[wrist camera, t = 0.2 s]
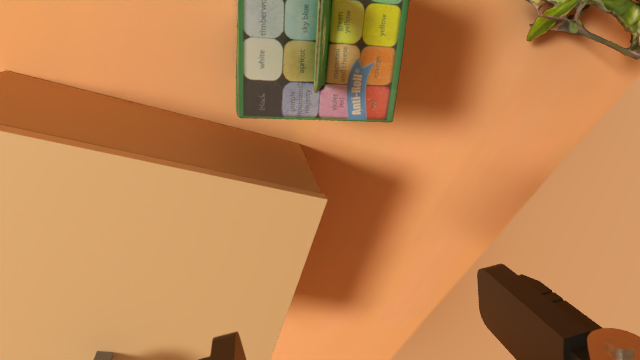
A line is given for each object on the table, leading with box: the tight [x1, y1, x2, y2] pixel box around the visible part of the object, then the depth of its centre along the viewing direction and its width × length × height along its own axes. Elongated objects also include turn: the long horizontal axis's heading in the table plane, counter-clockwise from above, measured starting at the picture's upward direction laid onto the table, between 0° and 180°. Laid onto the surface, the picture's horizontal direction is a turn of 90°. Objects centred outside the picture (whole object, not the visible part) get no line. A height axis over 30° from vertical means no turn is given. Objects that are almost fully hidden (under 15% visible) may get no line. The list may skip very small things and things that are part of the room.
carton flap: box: [0, 125, 328, 360], centre depth 22 cm, size 16×22×6 cm
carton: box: [0, 71, 322, 193], centre depth 29 cm, size 16×22×10 cm
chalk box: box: [236, 0, 409, 122], centre depth 24 cm, size 9×9×15 cm
